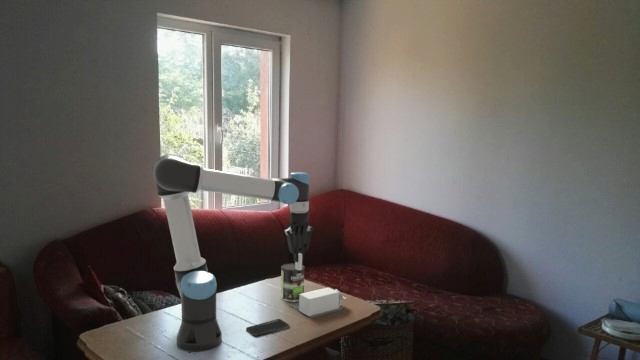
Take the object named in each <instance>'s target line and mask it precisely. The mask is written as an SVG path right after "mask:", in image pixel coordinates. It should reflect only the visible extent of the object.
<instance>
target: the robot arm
mask: <svg viewBox="0 0 640 360" xmlns="http://www.w3.org/2000/svg"><path fill="white" fill-rule="evenodd" d="M151 172H152V177H153V179H154V184H155V187H156V192H157V193H156V194H157V196H158V197H159V198H161V199H162V200H163V203H164V209H165V213H166V218H167V222H168V227H169V231H170V236H171V242H172V246H173V251H174V255H175V256H174V257H175V261H176V262H175V265H174V266H173V271H174V277H175V285H176V288H177V290H178V293H179V296H180V301H181V303H180V304H181V323H180V325H179V328H178V331H177V335H176V345H177V347H178V348H179V349H181V350H183V351H187V352H202V351H207V350H211V349H213V348H214V349H215V347H217V346H219V345H220V344H221V343H222V341H223V340H222V337H223V336H222V331H221V327H220V325H219V322H218V319H217V287H218V286H217V284H218V283H217V278H216V277H215V275H214V274H213V273H211V272H209V271H208V270H209V269H208V266H207V259H205V258H203V257H201V252H200V247H199V242H198V237H197V232H196V228H195V221H194V217H193V212H192V208H191V203H190V198H189V193H192V194H193V193H194V194H197V193H199V192H200V191H201V192H209V193H216V194H222V195H228V196H236V197H244V198H251V199H258V200H265V201H271V202H276V203H282V204H283V205H289V211H290V212H289V221H290V222H289V225H288V228H287V229H284V230H283V232H284V234H285V237H286V241H287V246H288V251H289V253H291V254H293V261H294V263H295V269H297V270H302V265H303V261H304V258H305V257H304V256H305V254H306V252H309V247H310V242H311V238H312V235H313V234H312V233H313V232H314V230H315V229H314V226H313V227H312V226H310V224H309V219H310V215H309V214H310V212H309V211H310V210H309V209H310V207H309V206H310V175H309V173H307V172H302V171H299V172H298V171H295V172H290V174H289V175H290V176H289V177H283V178H282V177H281V178H280V177H279V178H277V177H274V178H271V177H269V178H265V177H258V176H253V175H252V176H251V175H246V174H241V173H233V172H227V171H221V170H216V169H210V168H205V167H203V166H202V164H197V163H193V162H189V161H187V160H184V159H183V158H182V157H180V156H179V155H176V154H165V155H162V156H160V157H158V158H157V159H156V160H155V161H154V163H153V165H152V169H151Z"/></svg>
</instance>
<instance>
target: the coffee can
mask: <svg viewBox="0 0 640 360" xmlns="http://www.w3.org/2000/svg"><path fill="white" fill-rule="evenodd" d="M280 269H281V270H280V271H281V273H280V275H281V280H280V281H281V282H280V285H281V286H280V288H281V289H280V299H281V300H283V301H285V302H289V303H290V302H291V303H292V302H293V303H297V302H299V294H302V293H305V269H306V268H305V265H303V264H302V270H297V269H295V262H293V263H284V264H283V265H281V266H280Z"/></svg>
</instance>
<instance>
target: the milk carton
mask: <svg viewBox="0 0 640 360" xmlns="http://www.w3.org/2000/svg"><path fill="white" fill-rule="evenodd" d="M346 299H347V297H344V295H342V294H341V291H340V290H338V289H337V288H335V289H334V288H331V287H323V288H320V289H316V290H315V289H314V290H312V291H307V292H304V293H302V294H299V301H298V302H299V311H298V312H300V313H301V314H303V313H304V315H305V314H306V316H307V317H309V316H312V315H316V314H320V313H324V312H327V311H331V310H335V309H338V308H339V307H341V305H342V304H343V302H344V300H346Z"/></svg>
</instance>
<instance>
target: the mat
mask: <svg viewBox="0 0 640 360" xmlns="http://www.w3.org/2000/svg"><path fill="white" fill-rule="evenodd" d="M289 306H290V307H292V308H294V309H295V310H297V311H298V312H300V311H299V301H297V302H293V303H290V304H289ZM342 309H343V310H344V308H343V307H342V306H340V307H339V308H338V309H335V310H331V311H327V312H324V313H320V314H316V315H312V316H308V318H310V319H313V318H317V317H321V316H325V315H328V314H331V313H335V312H339V311H342ZM302 314H304V313H302ZM304 315H306V314H304ZM306 316H307V315H306Z"/></svg>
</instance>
